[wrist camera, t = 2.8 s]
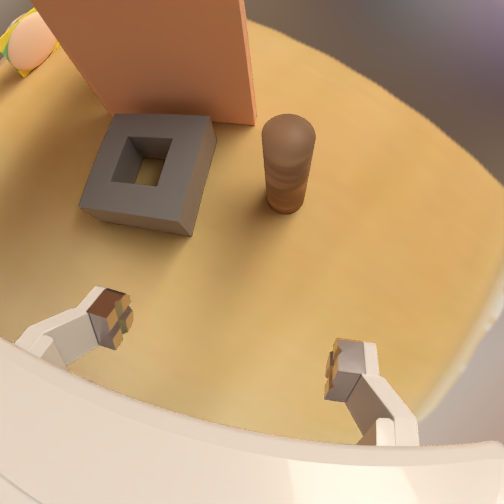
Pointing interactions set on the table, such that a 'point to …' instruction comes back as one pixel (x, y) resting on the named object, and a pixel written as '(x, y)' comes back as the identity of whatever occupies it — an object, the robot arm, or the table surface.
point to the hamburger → (27, 42)
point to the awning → (160, 54)
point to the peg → (287, 160)
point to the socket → (171, 179)
